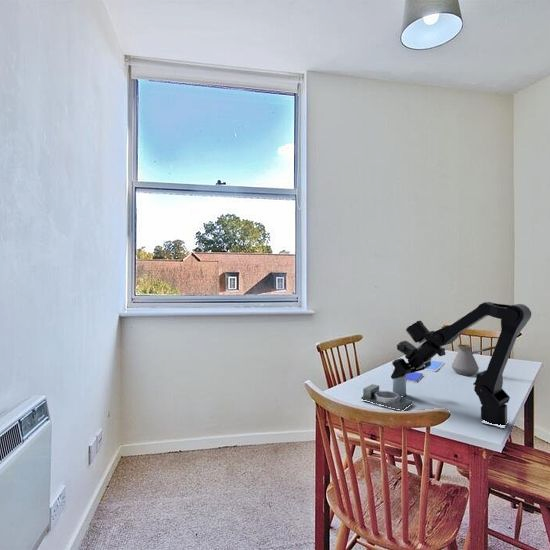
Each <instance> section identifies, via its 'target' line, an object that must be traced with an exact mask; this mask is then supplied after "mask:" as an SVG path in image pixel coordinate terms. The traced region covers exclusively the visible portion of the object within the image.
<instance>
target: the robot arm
mask: <svg viewBox="0 0 550 550" xmlns="http://www.w3.org/2000/svg"><path fill="white" fill-rule="evenodd" d="M488 316H489V317H491V318H492V317H493V318H496V319H499V320H500V329H501V330H500V333H499V337H498V338H497V341H496V345H495V349H493V352H492V355H491V357H490V360H489V363H488V365H487V368H486V370H482V371H480V372H478V373H476V379H475V381H474V382H473V384H472V385H473V386H474V389H473V391H474V392H475V394H476V396H477V397H478V399H479V402H480V404H481V405H480V406H481V407H480V420H481V421H482V420H485V421H487V422H489V423H492V424H498V425H500V424H501V425H506V423H507V421H508V405H507V404H508V403H509V402H510V399H511V397H510V396H509V393H506V391H505V390H504V389H503V385H504V380H503V379H504V378H503V374H504V370H505V368H506V365H507V363H508V360H509V358H510V355H511V353H512V350H513V348H514V345H515V343H516V340H517V337H518V335H519V334H520V333H521V332H522V330H523V329H524V327H526V325H527V323H528V322H529V321H530V319H532V311H531V309H530V308H529V307H528V306H527V305H526V304H522V303H518V304H503V303H496V302H492V301H486V302H485V301H484V302H481V303H480V304H478V306H476V307H474V309H472V310H470V311H469V312H468V313H466V314H464V315H463V316H462V317H460V318H458V319H457V320H455V321H453V322H452V323H450V324H448V325H445V326H443V327H440V328H438V329H436V330H431V331H429V329H428V328H427V327H426V326H425V324H424V323H423V321H422V320H417V321H415V322H414V323H412V324H411V325H409V326H407V328H406V329H405V331H406V332H407V335H409V336H410V338H411V339H412V340H413V341H414V343H416V344H417V343H418V344H420V345H419V346H417V347H416V346H415V345H414V344H412V343H410V342H409V341H408V340H403V341H400V342H399V343H398V344H396V350H397V351H399V352H400V353H402V354H403V355H404V358H405V359H406V360H407V362H406V361H405V359H404V358H401V357H399V358H396V359H394V360H393V361H392V362H391V365H392V364H393V366H394V367H395V369H394V371H392V372H391V373H392V374H391V375H390V378H391V379H392V380H393V379H395V378H400V377H404V376H407V375H408V374H410V373H413V372H417V373H418V372H420V371H425V370H424V369H426V368H428V367H429V366H431V362H430V361H432V359H433V357H435V356H436V355H438V356H439V357H444V356H445V355H446V348H445V347H444V346H448V345H451V344H452V343H454V342H455V341H456V340H457V339H458V338H459V337H460V335H461V334H462V333H463V332H464V331H466V330H468V329H469V328H471V327H473V326H474V325H475V324H478V323H479V322H481V321H482V320H484V319H486V317H488ZM424 365H425V366H424Z"/></svg>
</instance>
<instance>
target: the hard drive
mask: <svg viewBox="0 0 550 550" xmlns="http://www.w3.org/2000/svg"><path fill="white" fill-rule="evenodd" d="M423 376H424V373H422V372H418V371H417V372H413V373H410V374H408V375H407V376H406V380H409V381H414V382H413V383H416V382H417V381H418V380H419V379H420V380H421V379H422V377H423ZM420 380H419V381H420ZM409 381H408V382H409ZM419 381H418V382H419ZM418 382H417V383H418Z"/></svg>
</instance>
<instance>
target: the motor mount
mask: <svg viewBox="0 0 550 550" xmlns="http://www.w3.org/2000/svg"><path fill="white" fill-rule="evenodd" d="M362 389H363V390H362V393H363V395H362V396H361V397H360V399H363V400H367V401H370V402H373V403H377V404H381V405H384V406H387V407H391V408H395V409H400V410H404V409H405V408H406V407H408V406H409V405H411V404H414V401H413V400H411V399H407V398H405V397H400V396H399V395H398V394H397V393H395V392H393V391H391V390H390V391H389V390H380V385H377V384H373V383H372V384H370V385H368V386H366V387H363V388H362ZM411 406H412V405H411ZM404 411H405V410H404Z"/></svg>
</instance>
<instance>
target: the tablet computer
mask: <svg viewBox="0 0 550 550" xmlns="http://www.w3.org/2000/svg"><path fill="white" fill-rule="evenodd" d="M430 362H431V366H429V367H428V368H426V369H424V370H423V371H425V370H426V371H425V372H432V373H433V372H435V373H436V372H437V371H439V369H441V367H443V366H444V365H445V362H443V361H437V360H431V361H430ZM424 366H425V365H424Z"/></svg>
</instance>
